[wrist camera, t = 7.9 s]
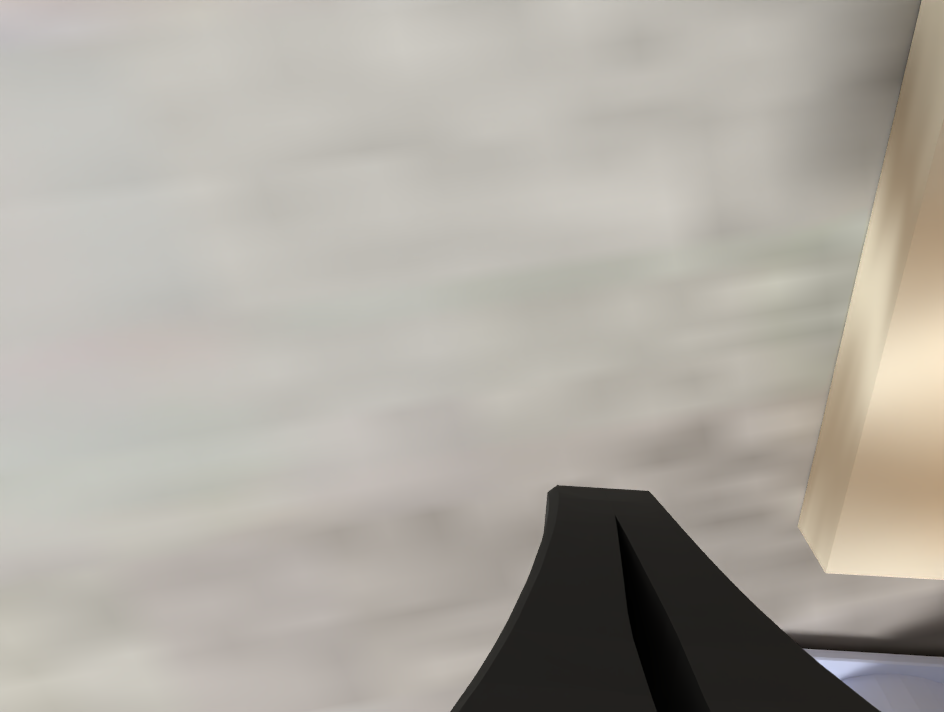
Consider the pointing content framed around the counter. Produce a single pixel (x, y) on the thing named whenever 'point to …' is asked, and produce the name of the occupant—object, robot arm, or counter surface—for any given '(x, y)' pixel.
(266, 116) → the counter surface
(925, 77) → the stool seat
